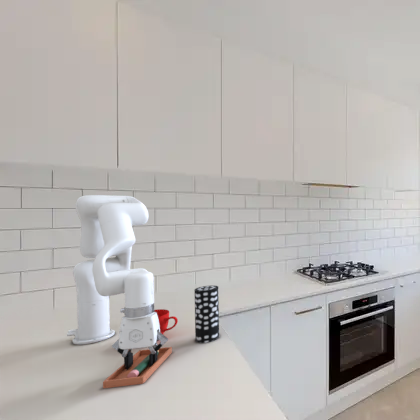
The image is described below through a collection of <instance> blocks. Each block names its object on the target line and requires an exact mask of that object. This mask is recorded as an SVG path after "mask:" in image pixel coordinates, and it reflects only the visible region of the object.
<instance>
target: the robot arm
mask: <svg viewBox="0 0 420 420" xmlns="http://www.w3.org/2000/svg"><path fill="white" fill-rule="evenodd" d="M75 211H76V214H77V216H78V218H79V221H80V239H79V240H80V241H79V242H80V243H79V252H80V255H81V256H82V257H83V258H87V260H83V261H80V262H78V263H76V264H75V265H74V267H73V269H72V275H73V279H74V284H75V289H76V304H77V305H76V307H77V308H76V309H77V310H76V311H77V312H76V313H77V328H76V329H75V328H72V329H68V330H67V333H66V337H72V336H73V337H74V338H73V339H72V344H74V345H79V346H81V345H89V344H94V343H98V342H101V341H105V340H108V339H110V338H111V337H113V336H114V335H115V334H116V331H115V329H112V328H111V319H110V318H111V317H110V314H111V313H110V297H111V296H117V295H122V294H124V307H123V308H120V311H119V312H120V313H121V314H122V313H123V314H124V316H122V317H121V320H120V325H119V333H118V339H117V340H116V341H115V342H113V344H112V345H111V347H112V349H114V350H116V351H117V353H118V354H120V355H121V357H122V358H123V364H124V366H125V369H129V368H130V367H131V366H132V365H133V355H134V353H133V352H132V350H135V349H136V350H137V349H147V348H148V349H149V350H150V352H151V354H150V355H149V366H150V367H151V366H152V365H153V364H154V363H155V362H156V361H157V360H158V354H157V351H158V350H159V349H160V348H163V346H164V345H165V344H166V343H167V342H168V341H169V338H168V337H167V336H166V335H164V334H162V333H160V325H159V320H158V316H157V313H156V312H154V310H155V276H154V273H153V272H151V271H148V270H147V269H146V268H143V267H138V268H131V263H132V251H133V245H135V243H136V242H137V241H136V236H135V232H134V228H133V226H144V225H146V224H147V223H148V221H149V218H150V216H149V210H148V208H147V206H146V205H145V204H144V203H143V202H142V201H141V200H140V199H138V198H136V197H134V196H131V195H113V194H112V195H109V194H86V195H82V196H79V197H77V199H76V201H75ZM159 341H160V342H159ZM157 342H159V343H157Z"/></svg>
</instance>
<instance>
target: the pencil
mask: <svg viewBox="0 0 420 420" xmlns="http://www.w3.org/2000/svg"><path fill="white" fill-rule="evenodd" d="M150 354H151V353H150ZM150 354H149V355H150ZM157 354H158V355H159V350H158V351H157ZM149 355H148V356H147V357H146V358H145V359H144V360H143V361H142V362H140V363H139V364H138V365H137V366H136V367H135V368H134V369H133V370H132V371H131V372H130V373H129V374H128V375H127V378H131V377H137V376H138V375H139V374H140V373H141V372H142V371H143V370H144V369H145V368H146V367H147V366H148V365H149Z"/></svg>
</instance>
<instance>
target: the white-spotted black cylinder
mask: <svg viewBox="0 0 420 420" xmlns="http://www.w3.org/2000/svg"><path fill="white" fill-rule="evenodd" d="M219 295H220V294H219V286H218V285H203V286H199V287H196V288H194V331H195V332H194V333H195V334H194V335H195V336H194V337H195V338H194V339H195V342H196V343H198V344H206V343H211V342H213V341H216V340H218V339H219V338H220V307H219V306H220V305H219V304H220V302H219V300H220V297H219Z"/></svg>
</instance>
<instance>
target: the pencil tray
mask: <svg viewBox="0 0 420 420" xmlns="http://www.w3.org/2000/svg"><path fill="white" fill-rule="evenodd" d="M150 353H151V352H150V350H149V348H148V349H147V348H146V349H139V350H138V351H137V352H136V353H134V354H133V365H132V366H131V367H130V368H129V369H125V366H124V363H123V364H122V365H120V367H118V368H117V369H116V370H115V371H114V372H112V373H111V374H110V375H108V377H107V378H105V379H104V380H103V381H102V389H112V388H118V387H128V386H136V385H142V384H144V383H146V381H147V380H148V379H149V378H150V377H151V376H152V375H154V373H155V372H156V371H157V369H159V367H160V366H161V365H162V364H163V363H164V362H165V361H166V360H167V358H168V357H169V356H170V355H171V354H172V353H173V347H172V346H168V347H161V348H160V349H159V355H158V360H157V361H156V362H155V363H154V364H153V365H152V366H151V367H150V366H149V365H148V366H147V367H146V368H145V369H144V370H143V371H142V372H141V373H140V374H139V375H138V376H137V377H131V378H127V375H128V374H129V373H130V372H131V371H132V370H133V369H134V368H135V367H136V366H137V365H138V364H139V363H140V362H142V361H143V360H144V359H145V358H146V357H147V356H148V355H149V354H150Z"/></svg>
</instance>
